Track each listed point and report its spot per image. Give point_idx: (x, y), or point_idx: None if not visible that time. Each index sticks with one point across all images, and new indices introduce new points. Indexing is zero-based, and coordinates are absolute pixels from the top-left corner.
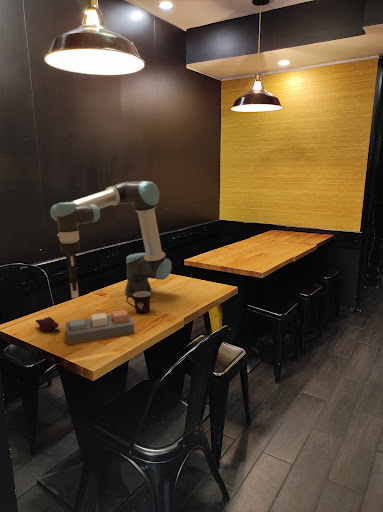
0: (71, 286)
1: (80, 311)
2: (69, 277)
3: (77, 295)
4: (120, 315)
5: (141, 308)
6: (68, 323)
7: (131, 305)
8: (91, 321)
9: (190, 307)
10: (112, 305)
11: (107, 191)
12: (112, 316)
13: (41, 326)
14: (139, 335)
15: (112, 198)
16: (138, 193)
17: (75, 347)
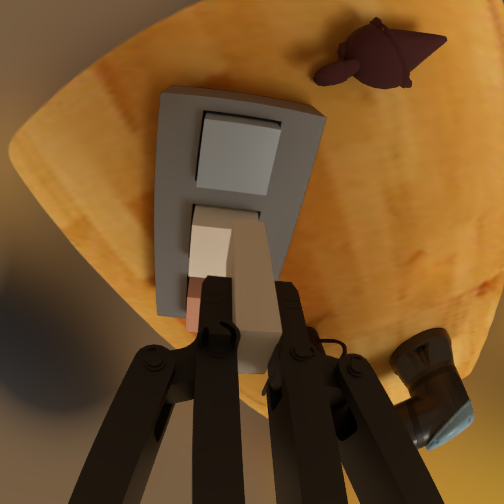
0: (233, 302)
1: (451, 210)
2: (352, 370)
3: (227, 267)
4: (187, 314)
5: None
6: (303, 125)
7: (328, 339)
8: (247, 215)
9: (259, 396)
10: (412, 293)
11: None
12: None
13: (374, 25)
14: (155, 296)
15: None
16: None
17: (151, 109)
